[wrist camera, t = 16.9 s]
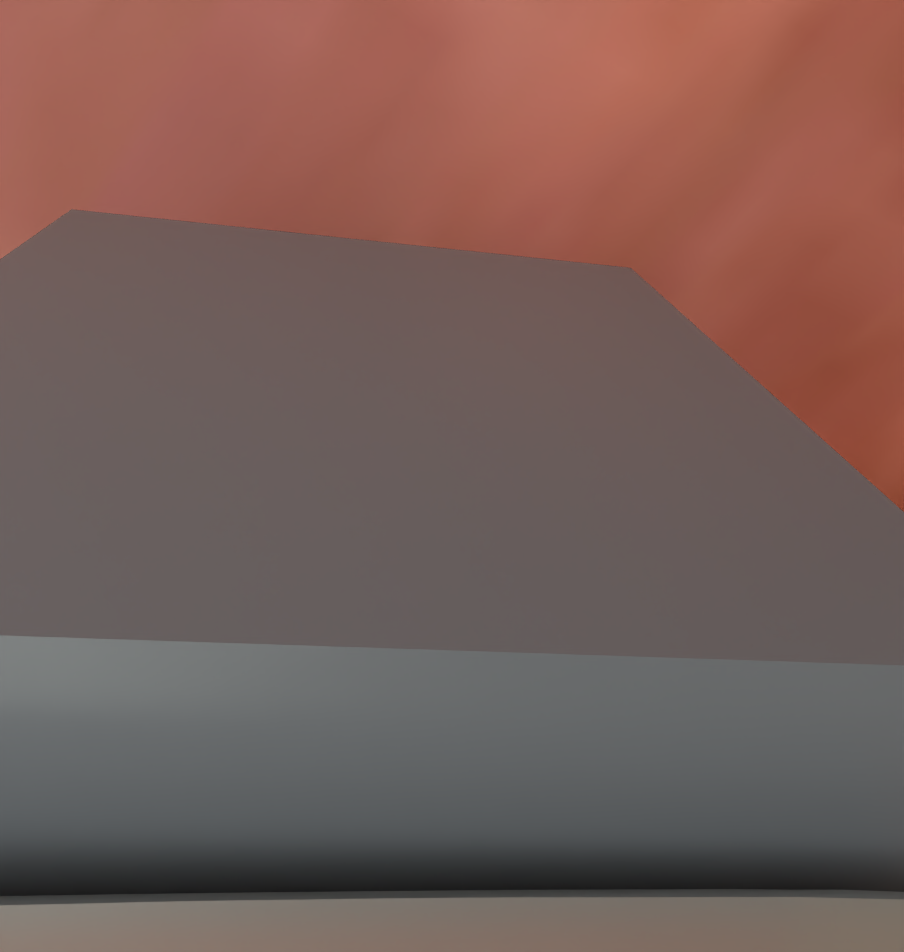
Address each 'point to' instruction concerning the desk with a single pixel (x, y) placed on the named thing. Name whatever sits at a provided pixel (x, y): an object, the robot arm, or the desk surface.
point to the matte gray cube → (421, 582)
